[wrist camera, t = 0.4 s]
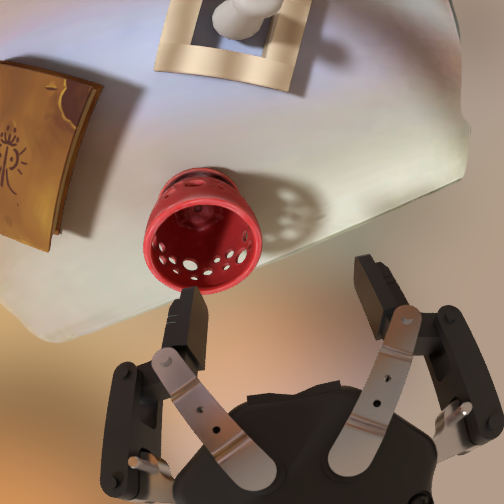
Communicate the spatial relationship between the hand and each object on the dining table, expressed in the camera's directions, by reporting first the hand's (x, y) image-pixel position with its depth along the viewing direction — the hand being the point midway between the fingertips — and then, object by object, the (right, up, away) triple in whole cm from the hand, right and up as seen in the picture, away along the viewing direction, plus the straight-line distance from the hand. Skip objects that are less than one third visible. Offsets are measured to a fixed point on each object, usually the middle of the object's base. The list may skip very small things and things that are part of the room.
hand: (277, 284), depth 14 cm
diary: (-33, +16, +12) cm, 39 cm away
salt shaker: (-4, +30, +11) cm, 32 cm away
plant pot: (-9, +8, +25) cm, 28 cm away
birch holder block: (-4, +29, +11) cm, 32 cm away
